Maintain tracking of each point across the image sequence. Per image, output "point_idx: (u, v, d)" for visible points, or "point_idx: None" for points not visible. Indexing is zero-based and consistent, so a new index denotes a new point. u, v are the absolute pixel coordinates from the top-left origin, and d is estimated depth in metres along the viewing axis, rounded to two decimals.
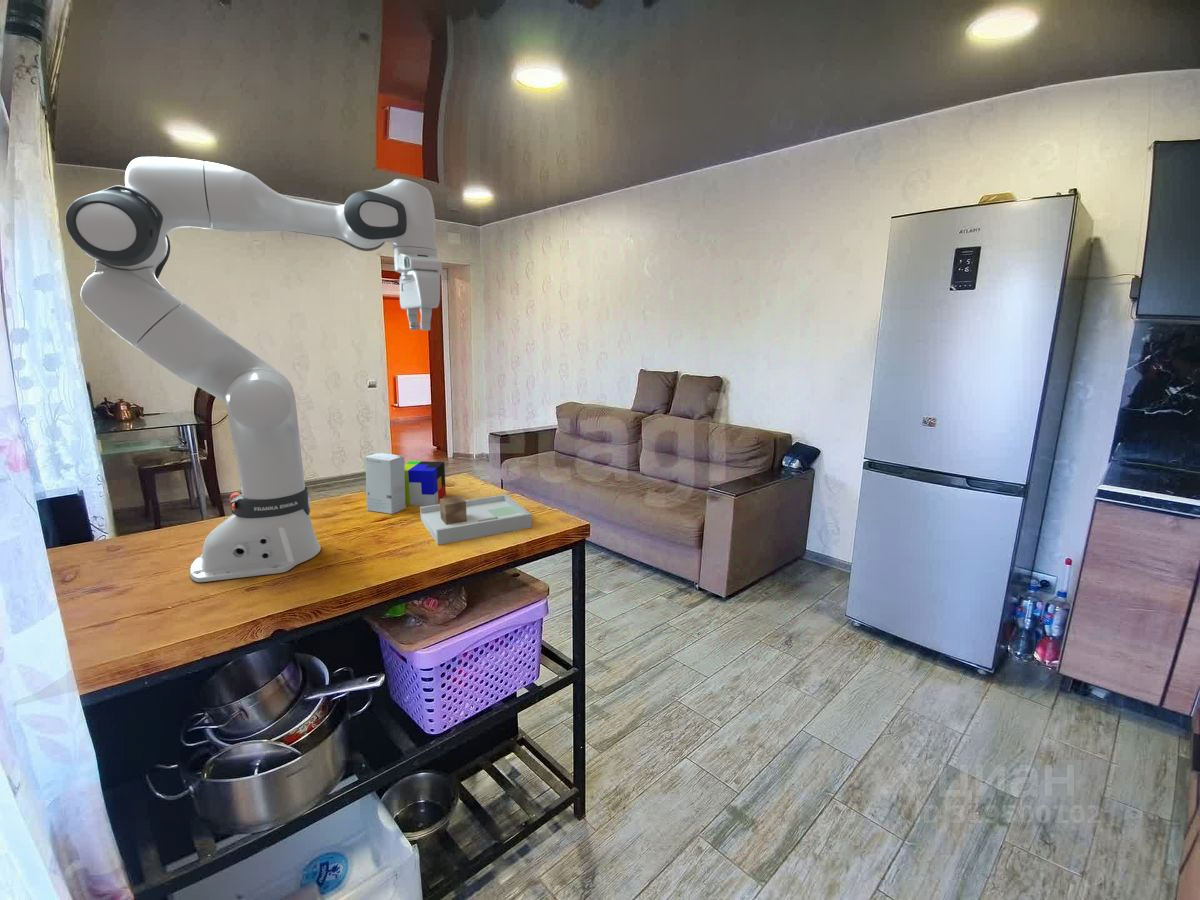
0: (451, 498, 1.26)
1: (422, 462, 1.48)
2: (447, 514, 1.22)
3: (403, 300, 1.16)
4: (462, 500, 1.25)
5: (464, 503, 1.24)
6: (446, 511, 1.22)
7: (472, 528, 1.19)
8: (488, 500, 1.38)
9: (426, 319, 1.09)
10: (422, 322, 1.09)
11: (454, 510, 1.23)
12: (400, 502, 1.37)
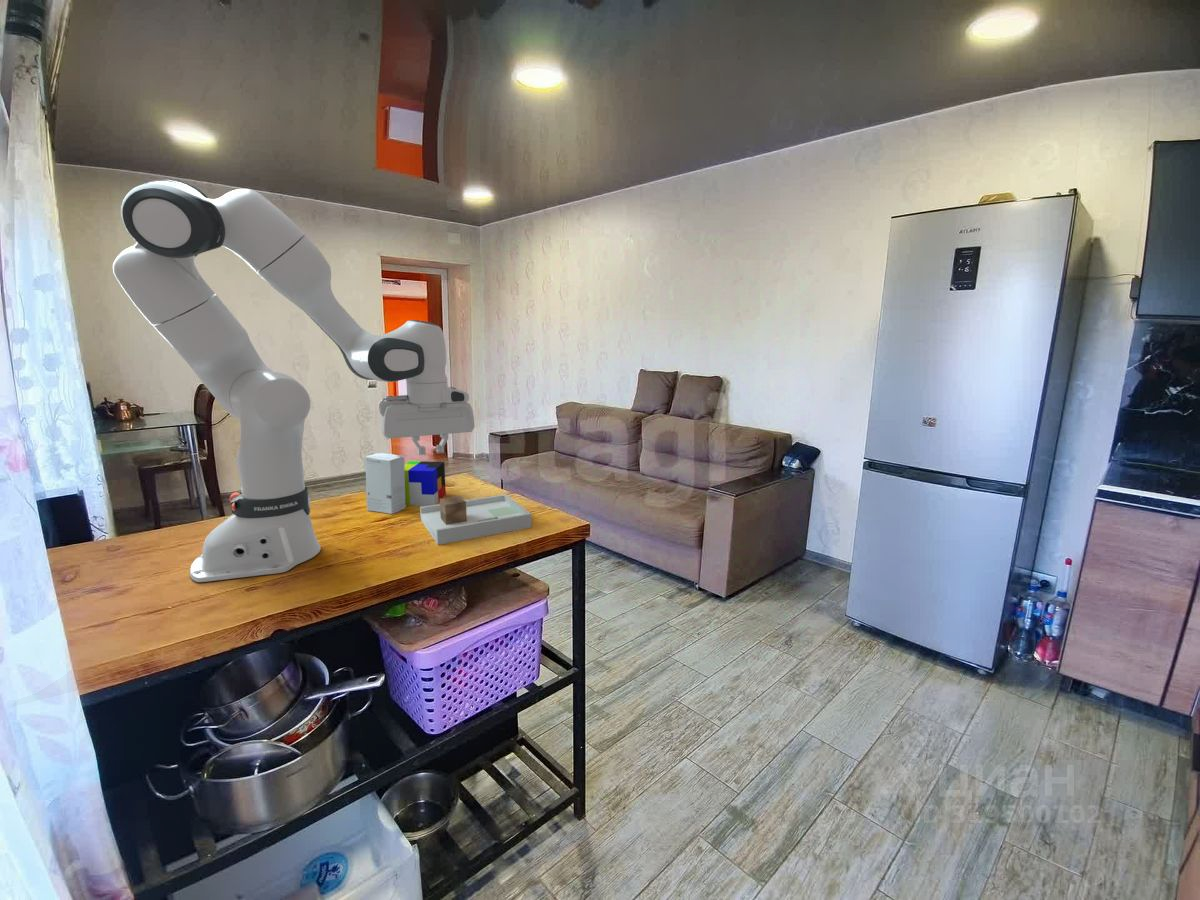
0: (451, 498, 1.26)
1: (422, 462, 1.48)
2: (447, 514, 1.22)
3: (404, 429, 1.14)
4: (462, 500, 1.25)
5: (464, 503, 1.24)
6: (446, 511, 1.22)
7: (472, 528, 1.19)
8: (488, 500, 1.38)
9: None
10: None
11: (454, 510, 1.23)
12: (400, 502, 1.37)
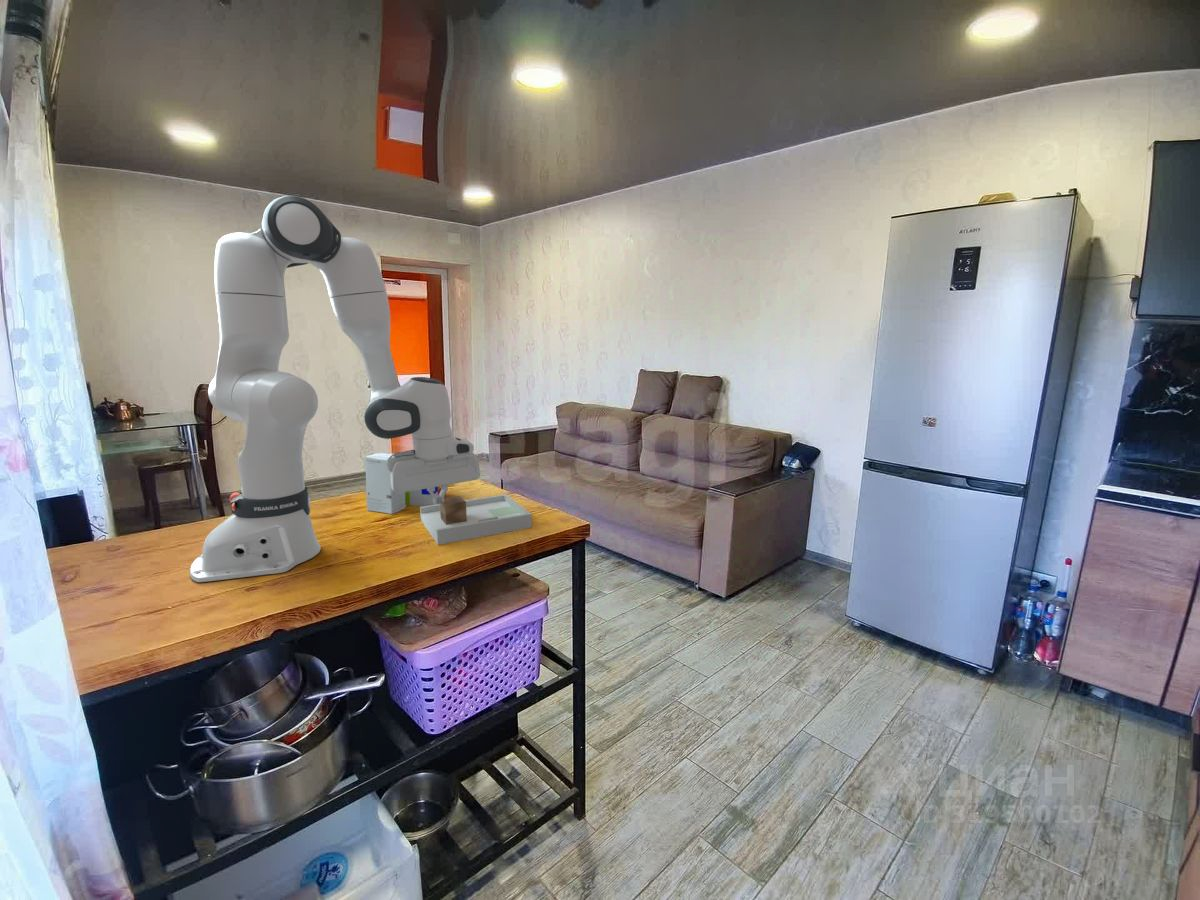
0: (451, 498, 1.26)
1: None
2: (447, 514, 1.22)
3: (412, 483, 1.17)
4: (462, 500, 1.25)
5: (464, 503, 1.24)
6: (446, 511, 1.22)
7: (472, 528, 1.19)
8: (488, 500, 1.38)
9: None
10: None
11: (454, 510, 1.23)
12: (400, 502, 1.37)
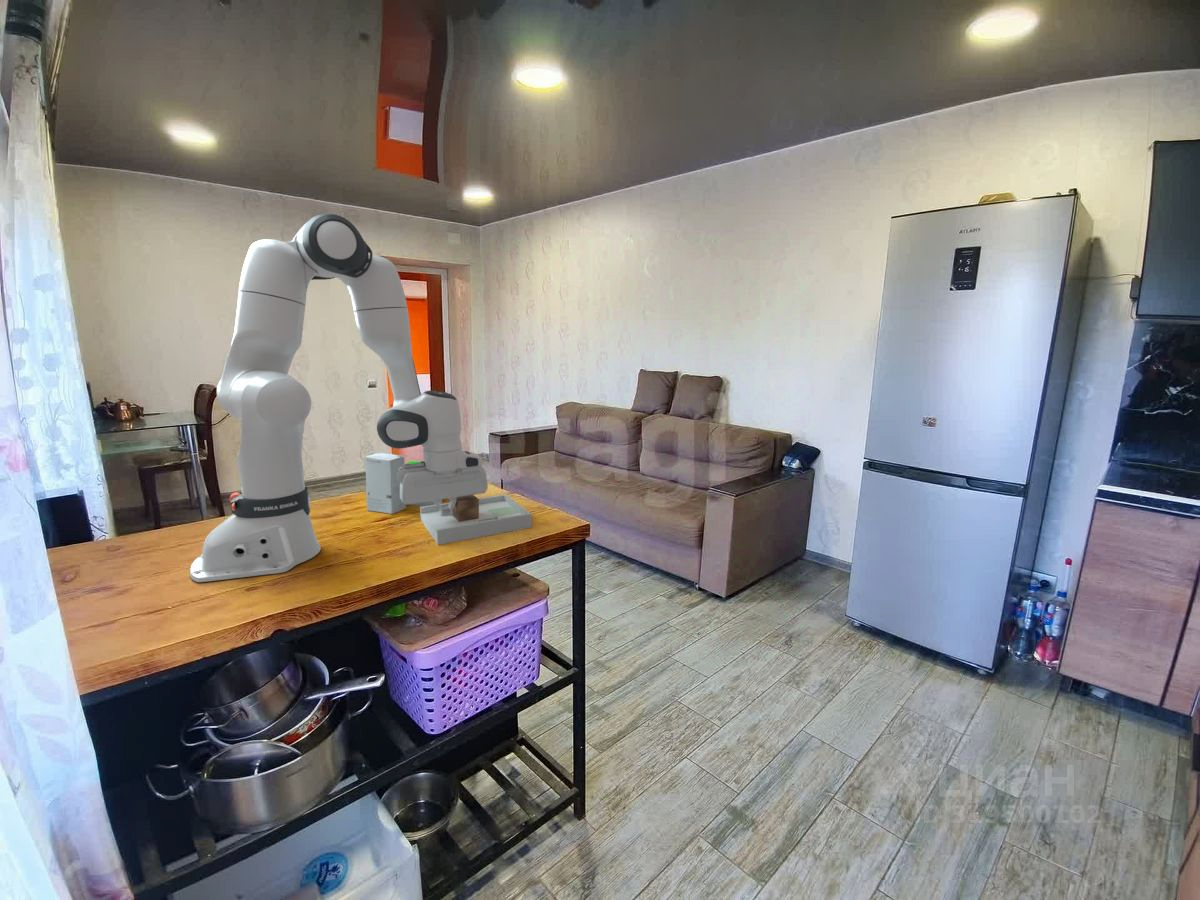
0: None
1: None
2: (460, 511, 1.24)
3: (421, 495, 1.19)
4: (475, 497, 1.27)
5: (477, 500, 1.26)
6: (459, 508, 1.24)
7: (472, 528, 1.19)
8: (488, 500, 1.38)
9: None
10: None
11: (467, 507, 1.25)
12: (400, 502, 1.37)
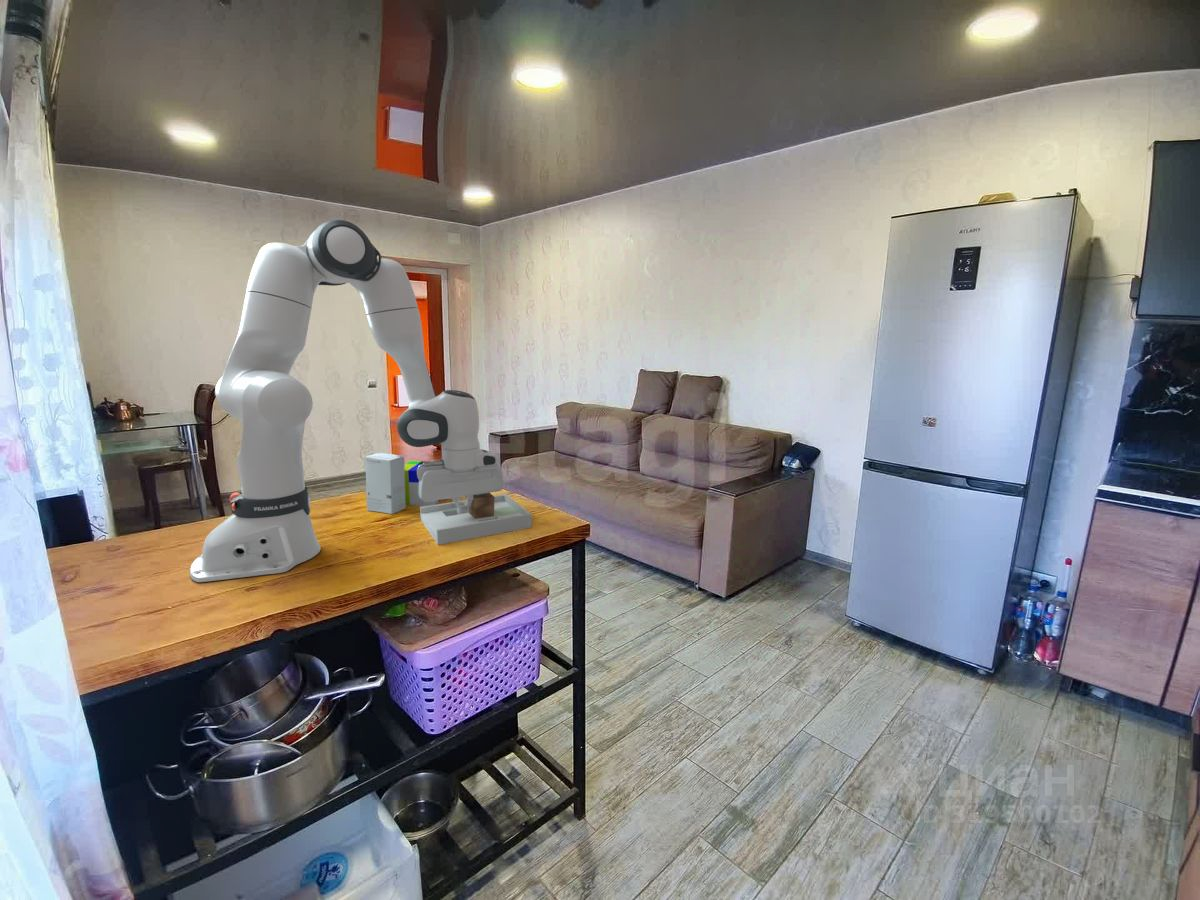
0: None
1: (422, 462, 1.48)
2: (476, 507, 1.26)
3: (440, 492, 1.21)
4: (491, 495, 1.29)
5: (493, 498, 1.28)
6: (475, 505, 1.26)
7: (472, 528, 1.19)
8: None
9: None
10: None
11: (483, 504, 1.27)
12: (400, 502, 1.37)
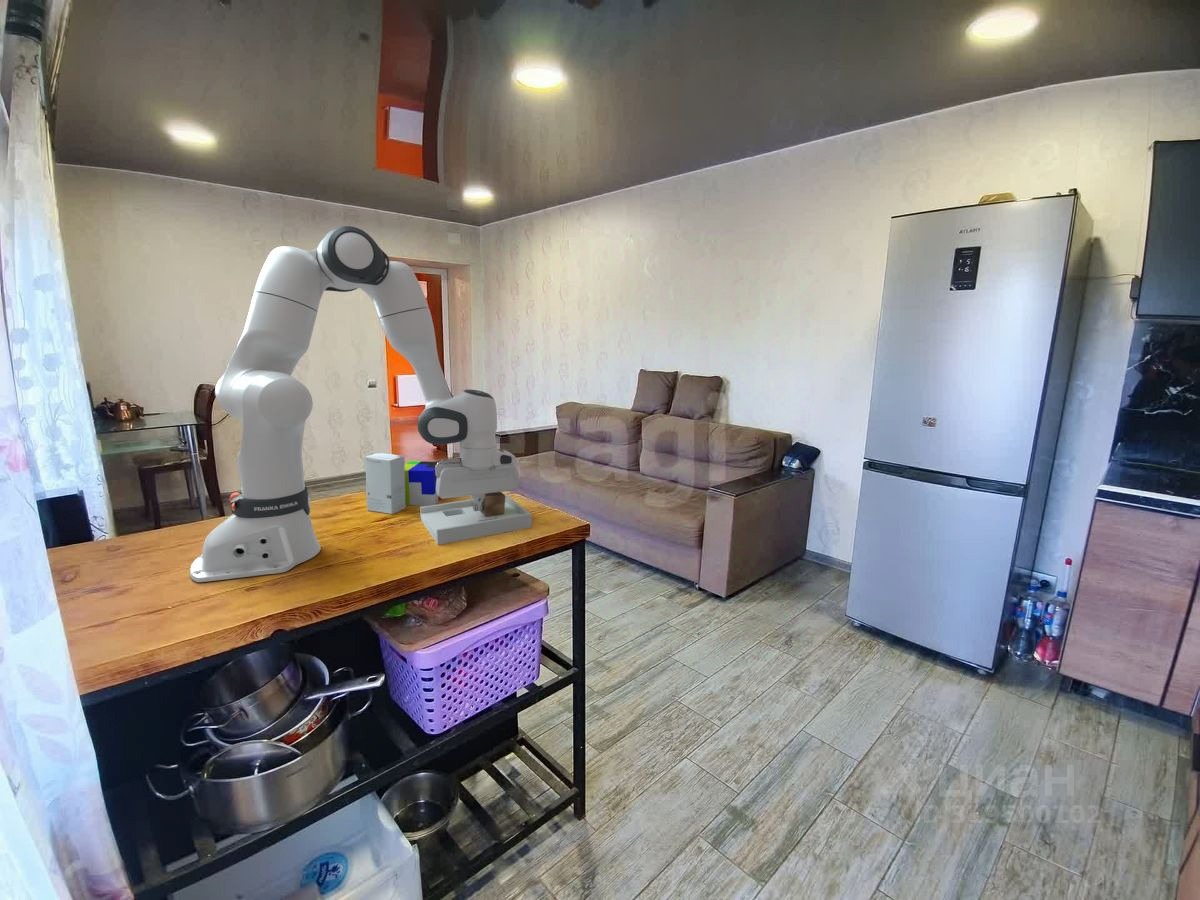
0: None
1: (422, 462, 1.48)
2: (487, 505, 1.27)
3: (457, 490, 1.23)
4: (501, 494, 1.30)
5: (503, 496, 1.29)
6: (486, 503, 1.27)
7: (472, 528, 1.19)
8: None
9: None
10: None
11: (494, 502, 1.28)
12: (400, 502, 1.37)
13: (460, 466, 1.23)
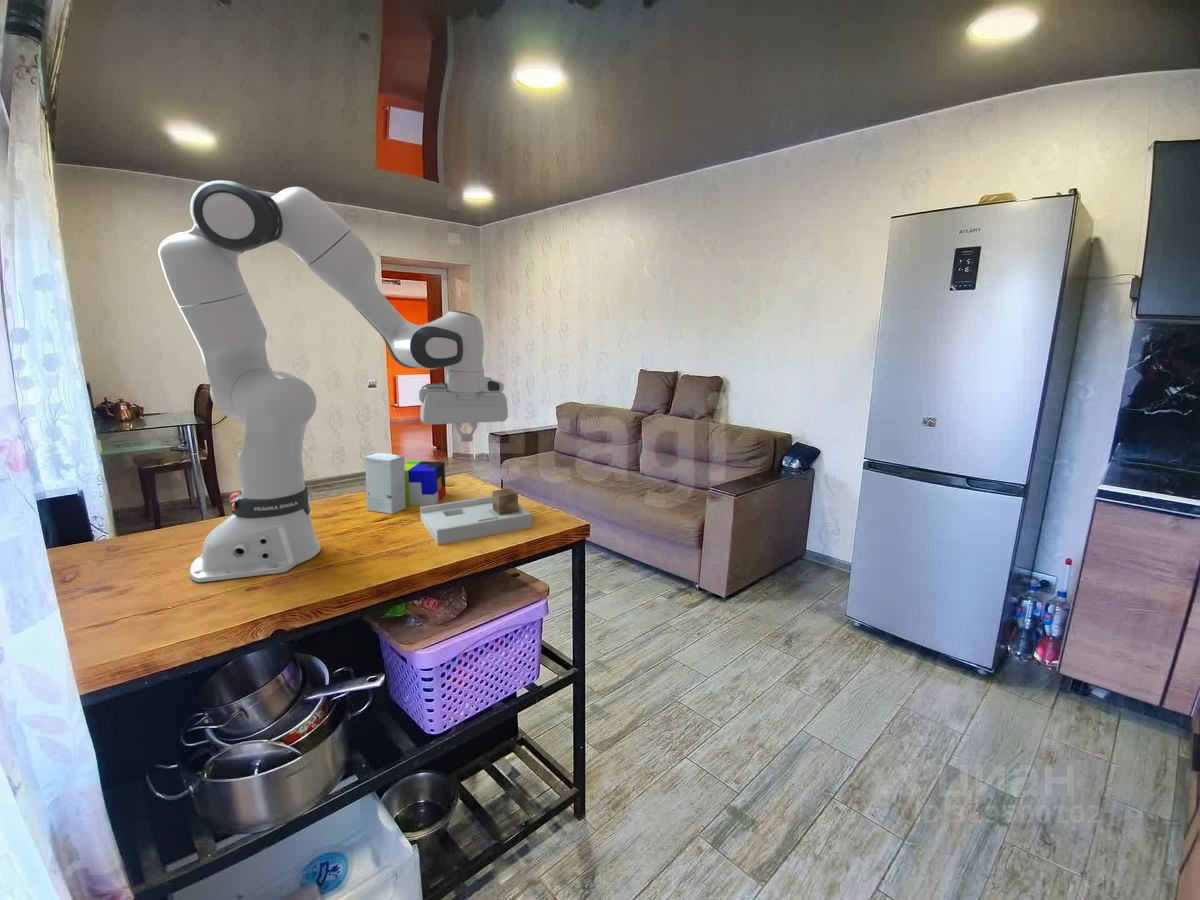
0: (503, 490, 1.33)
1: (422, 462, 1.48)
2: (501, 505, 1.29)
3: (442, 416, 1.18)
4: (514, 492, 1.32)
5: (516, 495, 1.31)
6: (500, 502, 1.29)
7: (472, 528, 1.19)
8: (488, 500, 1.38)
9: None
10: None
11: (507, 501, 1.30)
12: (400, 502, 1.37)
13: (445, 391, 1.18)
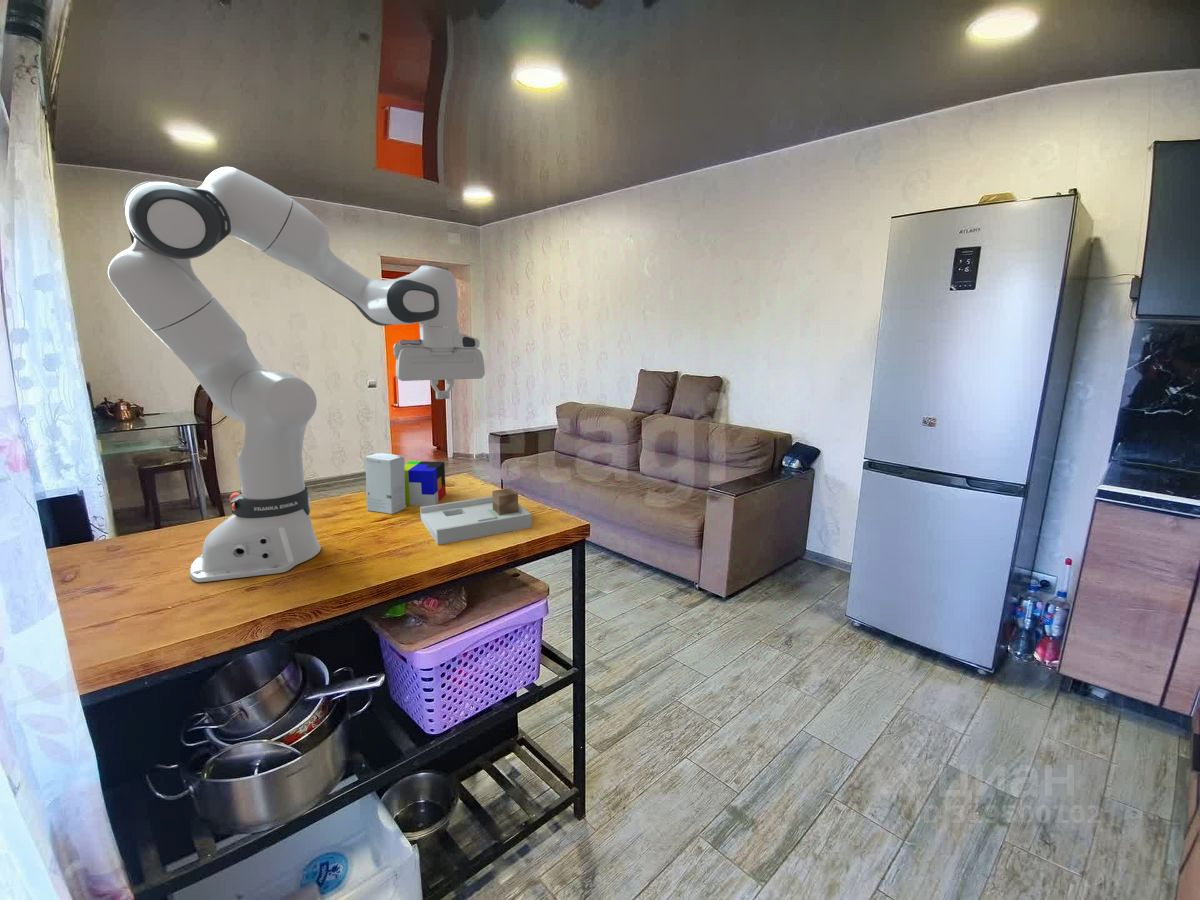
0: (503, 490, 1.33)
1: (422, 462, 1.48)
2: (501, 505, 1.29)
3: (417, 372, 1.18)
4: (514, 492, 1.32)
5: (516, 495, 1.31)
6: (500, 502, 1.29)
7: (472, 528, 1.19)
8: (488, 500, 1.38)
9: None
10: (449, 391, 1.23)
11: (507, 501, 1.30)
12: (400, 502, 1.37)
13: (420, 347, 1.18)
